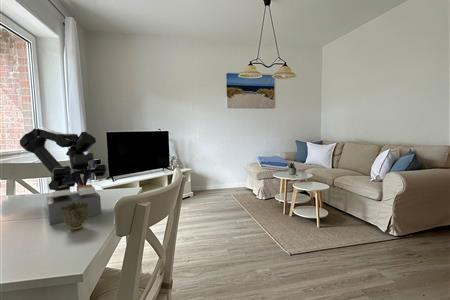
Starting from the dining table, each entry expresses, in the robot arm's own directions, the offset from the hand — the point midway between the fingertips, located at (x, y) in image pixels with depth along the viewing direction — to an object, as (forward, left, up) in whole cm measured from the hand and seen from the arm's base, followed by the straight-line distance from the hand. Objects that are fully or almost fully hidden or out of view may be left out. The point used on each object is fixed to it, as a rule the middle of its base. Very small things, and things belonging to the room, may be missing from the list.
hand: (84, 190), depth 97 cm
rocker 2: (+4, 0, 0) cm, 4 cm away
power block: (+3, -4, -8) cm, 10 cm away
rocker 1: (+4, -8, 0) cm, 9 cm away
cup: (+20, -6, -8) cm, 22 cm away
